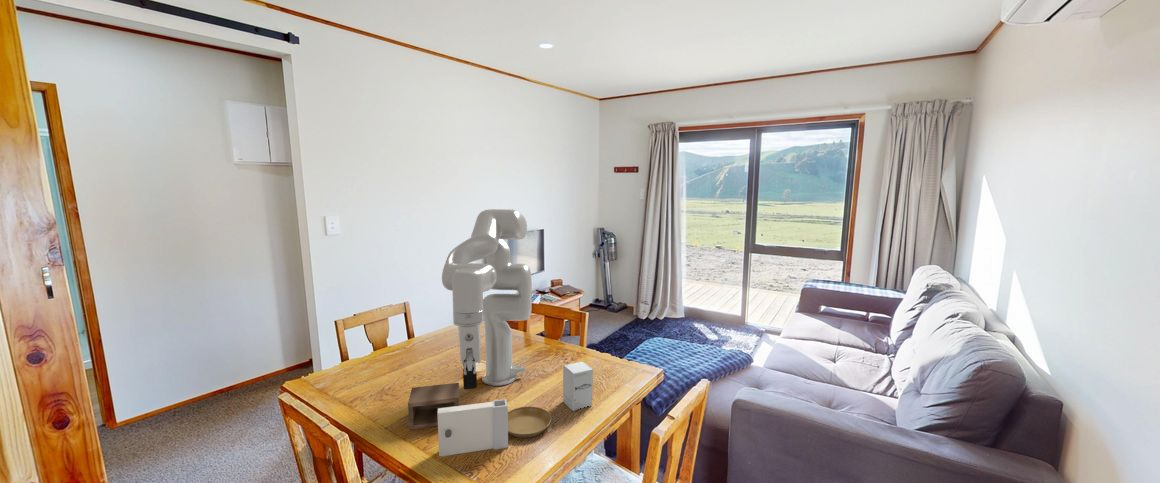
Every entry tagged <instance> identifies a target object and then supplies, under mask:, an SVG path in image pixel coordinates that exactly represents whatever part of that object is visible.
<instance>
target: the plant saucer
mask: <svg viewBox="0 0 1160 483" xmlns="http://www.w3.org/2000/svg"><path fill="white" fill-rule="evenodd" d="M551 422H552V415H551V413H550V412H549V411H548V410H546V409H544V408H541V407H538V406H519V407H517V408H513V409H511V410H509V411H508V434H510V435H511V436H514V437H516V438H517V437H518V438H531V437H536V436H538V435H541V434H542V433H543V432H544V431H545V430H547V428H548V427H549V426H550V424H551Z"/></svg>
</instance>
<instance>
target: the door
mask: <svg viewBox="0 0 1160 483" xmlns="http://www.w3.org/2000/svg"><path fill="white" fill-rule="evenodd" d="M508 408H509V407H508V403H507V398H504V399H503V398H502V399H495V400H491V401H488V402H479V403H471V404H464V405H460V406H454V407H446V408H438V426H437V429H438V430H437V434H438V436H437V437H438V438H437V439H438V456H439V457H447V456H453V455H459V454H466V453H473V452H478V451H479V452H480V451H485V450H486V451H487V450H492V449H493V450H494V451H495V450H496V451H497V450H501V449H508V448H509V433H508V412H509V411H508V410H509V409H508Z"/></svg>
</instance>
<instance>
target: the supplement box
mask: <svg viewBox="0 0 1160 483" xmlns="http://www.w3.org/2000/svg"><path fill="white" fill-rule="evenodd" d="M593 370H594V369H593V368H592V367H591V366H590V365H588V364H586V363H585V362H584V361H579V362H574V363H568V364H564V365H563V366H562V371H563V372H562V402H563V403H564V404H565V405H566V406H567V407H568V409H570V410H571V411H572V412H574V411H577V410H581V409H585V408H588V407H587V406H589V407H592V406H593V387H594V386H593V380H594V371H593ZM591 405H592V406H591ZM584 407H585V408H584ZM580 408H581V409H580Z"/></svg>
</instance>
